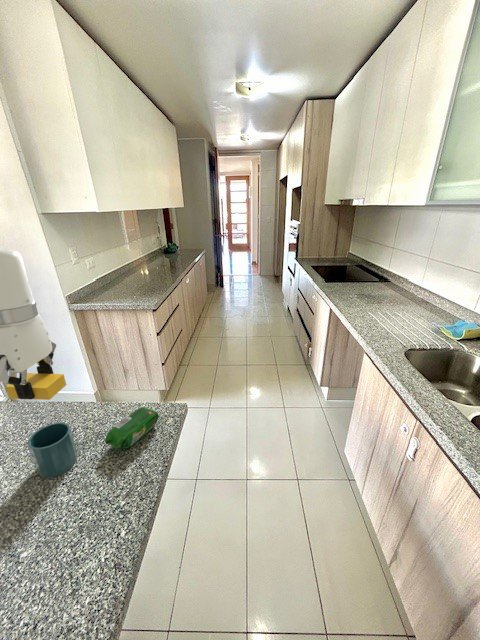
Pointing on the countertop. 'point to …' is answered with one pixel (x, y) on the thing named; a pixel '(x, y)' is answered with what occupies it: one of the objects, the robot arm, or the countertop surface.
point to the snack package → (131, 428)
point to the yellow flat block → (41, 385)
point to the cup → (53, 450)
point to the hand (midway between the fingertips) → (38, 388)
